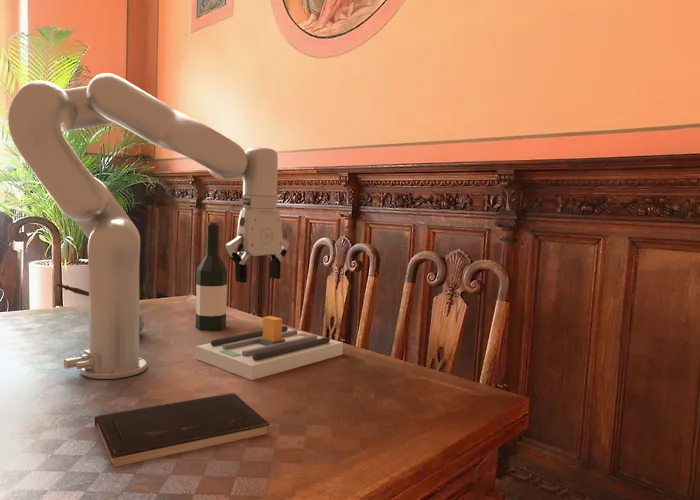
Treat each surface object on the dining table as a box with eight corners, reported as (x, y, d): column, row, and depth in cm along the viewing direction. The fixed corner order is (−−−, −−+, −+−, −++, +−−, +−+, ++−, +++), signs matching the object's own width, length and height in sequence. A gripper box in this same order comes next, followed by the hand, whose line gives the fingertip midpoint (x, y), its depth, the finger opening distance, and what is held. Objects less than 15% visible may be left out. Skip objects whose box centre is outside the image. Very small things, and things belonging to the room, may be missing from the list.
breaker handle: (272, 346, 123) (272, 320, 123) (258, 342, 126) (259, 317, 126) (285, 343, 126) (285, 318, 126) (271, 339, 130) (272, 315, 129)
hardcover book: (269, 437, 85) (269, 423, 85) (111, 472, 72) (111, 455, 72) (232, 404, 98) (232, 391, 98) (94, 428, 86) (94, 414, 85)
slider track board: (251, 380, 110) (252, 361, 109) (195, 358, 123) (196, 341, 122) (342, 354, 131) (343, 338, 131) (286, 338, 144) (287, 324, 143)
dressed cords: (255, 361, 112) (255, 355, 112) (209, 345, 123) (209, 339, 123) (331, 342, 130) (331, 337, 130) (285, 330, 141) (285, 325, 141)
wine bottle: (232, 327, 154) (234, 223, 151) (210, 332, 147) (212, 223, 144) (211, 323, 158) (213, 221, 156) (189, 327, 151) (190, 221, 149)
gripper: (238, 203, 111) (237, 285, 112) (299, 205, 124) (297, 278, 125) (217, 203, 116) (216, 281, 117) (277, 204, 129) (276, 275, 130)
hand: (258, 280), depth 121 cm, fingers open, 9 cm apart
